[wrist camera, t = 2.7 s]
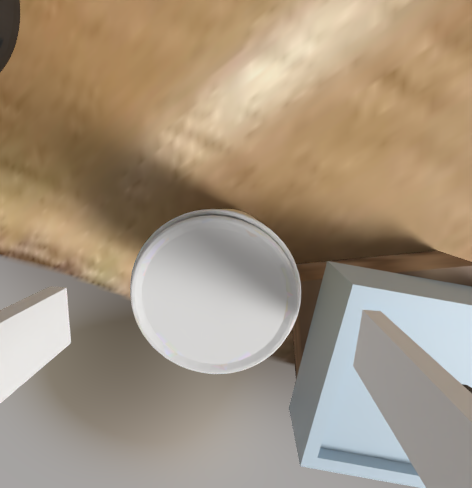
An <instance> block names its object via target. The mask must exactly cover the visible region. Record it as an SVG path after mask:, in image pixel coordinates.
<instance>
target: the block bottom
mask: <svg viewBox="0 0 472 488" xmlns="http://www.w3.org/2000/svg"><path fill="white" fill-rule="evenodd" d="M330 262H336V263H342V264H347V265H353V266H359V267H364V268H370V269H375V270H381V271H387V272H392V273H398V274H404V275H409V276H415V277H421V278H426V279H432V280H437V281H443V282H449V283H454V284H460V285H466V286H471V287H472V262H470V261H467V260H464V259H461V258H458V257H455V256H452V255H449V254H446V253H443V252H440V251H429V252H418V253H408V254H397V255H387V256H376V257H366V258H356V259H345V260H335V261H330ZM326 264H327V261H324V262H314V263H303V264H296V266H297V269H298V273H299V277H300V283H301V303H300V308H299V312H298V316H297V319H296V321H295V324H294V326H293V339H294V352H295V372H296V379H297V375H298V371H299V367H300V364H301V360H302V356H303V352H304V348H305V344H306V341H307V337H308V333H309V329H310V325H311V321H312V318H313V314H314V310H315V306H316V302H317V298H318V295H319V291H320V287H321V283H322V279H323V275H324V272H325V268H326Z"/></svg>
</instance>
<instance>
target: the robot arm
mask: <svg viewBox="0 0 472 488" xmlns="http://www.w3.org/2000/svg"><path fill="white" fill-rule="evenodd" d="M19 23H20V1H19V0H0V72H1V71H2V69H3V68H4V67H5V65H6V64H7V62H8V60H9V58H10V57H11V54H12V52H13V50H14V47H15V44H16V40H17V36H18V31H19ZM70 343H71V338H70V326H69V314H68V301H67V288H63V287H48V288H46V289H44V290H42V291H40V292H38V293H35V294H33V295H31V296H29V297H27V298H25V299H23V300H21V301H19V302H17V303H15V304H13V305H10V306H9V307H6V308H4V309H2V310H0V403H1V402H2V401H4V400H5V399H6V398H7V397H8V396H9V395H10V394H12V393H13V392H14V391H15V390H16V389H18V388H19V387H20V386H21V385H22V384H23V383H25V382H26V381H27V380H28V379H29V378H30V377H32V376H33V375H34V374H35V373H36V372H37V371H39V370H40V369H41V368H42V367H43V366H44V365H45V364H47V363H48V362H49V361H50V360H52V359H53V358H54V357H55V356H56V355H57V354H58V353H60V352H61V351H62V350H63V349H64V348H66V347H67V346H68V345H69V344H70ZM353 367H354V368H355V370H356V372H357V373H358V375H359V377H360V378H361V380H362V382H363V383H364V385H365V387H366V388H367V390H368V392H369V393H370V395H371V397H372V398H373V400H374V402H375V403H376V405H377V407H378V408H379V410H380V412H381V413H382V415H383V417H384V418H385V420H386V422H387V423H388V425H389V427H390V428H391V430H392V432H393V433H394V435H395V437H396V438H397V440H398V442H399V443H400V445H401V447H402V448H403V450H404V452H405V453H406V455H407V457H408V458H409V460H410V462H411V463H412V465H413V467H414V468H415V470H416V472H417V473H418V475H419V477H420V478H421V480H422V482H423V483H424V485H425V487H426V488H472V388H471V387H470V386H468V385H464V384H461V383H460V382H459V381H457V380H456V379H455V378H454V377H453V376H452V375H451V374H450V373H449V372H447V371H446V370H445V369H444V368H443V367H442V366H441V365H440V364H439V363H438V362H436V361H435V360H434V359H433V358H432V357H431V356H430V355H429V354H428V353H426V352H425V351H424V350H423V349H422V348H421V347H420V346H419V345H418V344H416V343H415V342H414V341H413V340H412V339H411V338H410V337H409V336H408V335H407V334H405V333H404V332H403V331H402V330H401V329H400V328H399V327H398V326H397V325H395V324H394V323H393V322H392V321H391V320H390V319H389V318H388V317H387V316H386V315H384V314H383V313H382V312H381V311H373V310H362V316H361V322H360V328H359V334H358V340H357V345H356V351H355V357H354V363H353Z"/></svg>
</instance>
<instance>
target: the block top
mask: <svg viewBox="0 0 472 488" xmlns="http://www.w3.org/2000/svg"><path fill="white" fill-rule="evenodd" d="M362 310H373V311H381V312H382V313H383V314H384V315H386V316H387V317H388V318H389V319H390V320H391V321H392V322H393V323H394V324H395V325H397V326H398V327H399V328H400V329H401V330H402V331H403V332H404V333H405V334H407V335H408V336H409V337H410V338H411V339H412V340H413V341H414V342H415V343H416V344H418V345H419V346H420V347H421V348H422V349H423V350H424V351H425V352H426V353H428V354H429V355H430V356H431V357H432V358H433V359H434V360H435V361H436V362H438V363H439V364H440V365H441V366H442V367H443V368H444V369H445V370H446V371H447V372H449V373H450V374H451V375H452V376H453V377H454V378H455V379H456V380H457V381H459V382H460V383H461V384H464V385H468V386H470V387H471V388H472V287H471V286H466V285H460V284H454V283H449V282H443V281H437V280H432V279H426V278H421V277H415V276H409V275H404V274H398V273H392V272H387V271H381V270H375V269H370V268H364V267H359V266H353V265H347V264H342V263H336V262H330V261H327V264H326V268H325V272H324V275H323V279H322V283H321V287H320V291H319V295H318V298H317V302H316V306H315V310H314V314H313V318H312V321H311V325H310V329H309V333H308V337H307V341H306V344H305V348H304V352H303V356H302V360H301V364H300V367H299V371H298V375H297V379H296V383H295V387H294V390H293V394H292V398H291V402H290V406H289V410H290V416H291V420H292V426H293V430H294V436H295V441H296V447H297V452H298V457H299V462H300V466H302V467H308V468H313V469H319V470H324V471H330V472H336V473H341V474H347V475H352V476H358V477H364V478H369V479H374V480H380V481H386V482H391V483H397V484H402V485H408V486H413V487H419V488H426V487H425V485H424V483H423V482H422V480H421V478H420V477H419V475H418V473H417V472H416V470H415V468H414V467H413V465H412V463H411V462H410V460H409V458H408V457H407V455H406V453H405V452H404V450H403V448H402V447H401V445H400V443H399V442H398V440H397V438H396V437H395V435H394V433H393V432H392V430H391V428H390V427H389V425H388V423H387V422H386V420H385V418H384V417H383V415H382V413H381V412H380V410H379V408H378V407H377V405H376V403H375V402H374V400H373V398H372V397H371V395H370V393H369V392H368V390H367V388H366V387H365V385H364V383H363V382H362V380H361V378H360V377H359V375H358V373H357V372H356V370H355V368H354V367H353V363H354V357H355V351H356V345H357V340H358V334H359V328H360V322H361V316H362Z"/></svg>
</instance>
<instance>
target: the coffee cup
mask: <svg viewBox="0 0 472 488" xmlns="http://www.w3.org/2000/svg"><path fill="white" fill-rule="evenodd" d="M130 290H131V293H130V295H131V304H132V310H133V313H134V316H135V320H136V322H137V324H138V326H139V328H140V330H141V332H142V333H143V335H144V336H145V338H146V339H147V340H148V342H149V343H150V344H151V345H152V346H153V347H154V348H155V349H156V350H157V351H158V352H159V353H161V354H162V355H163V356H164V357H165V358H167V359H168V360H170V361H172V362H174V363H176V364H177V365H179V366H181V367H184V368H187V369H190V370H193V371H198V372H202V373H210V374H225V373H233V372H238V371H242V370H245V369H248V368H250V367H252V366H255V365H256V364H259V363H260V362H262V361H263V360H265V359H266V358H268V357H269V356H270V355H272V354H273V353H274V352H275V351H276V350H277V349H278V348H279V347H280V346H281V345H282V343H283V342H284V340H285V339H286V337H287V336H288V335H289V333H290V331H291V330H292V328H293V326H294V324H295V321H296V319H297V316H298V312H299V308H300V303H301V283H300V277H299V273H298V269H297V266H296V263H295V261H294V259H293V257H292V255H291V253H290V251H289V249H288V248H287V247H286V245H285V244H284V242H283V241H282V240H281V239H280V238H279V237H278V236H277V235H276V234H275V233H274V232H273V231H272V230H271V229H270V228H268V227H267V226H265V225H264V224H262V223H261V222H259V221H258V220H256V219H255V218H254V217H252V216H251V215H249V214H247V213H245V212H243V211H239V210H235V209H204V210H197V211H193V212H189V213H185V214H183V215H180V216H178V217H176V218H174V219H172V220H170V221H168V222H167V223H165V224H164V225H162V226H161V227H160V228H159V229H157V230H156V231H155V232H154V233H153V234H152V235H151V236H150V237H149V239H148V240H147V241H146V242H145V244H144V245H143V246H142V248H141V250H140V252H139V254H138V256H137V258H136V261H135V263H134V267H133V270H132V276H131V288H130Z"/></svg>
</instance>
